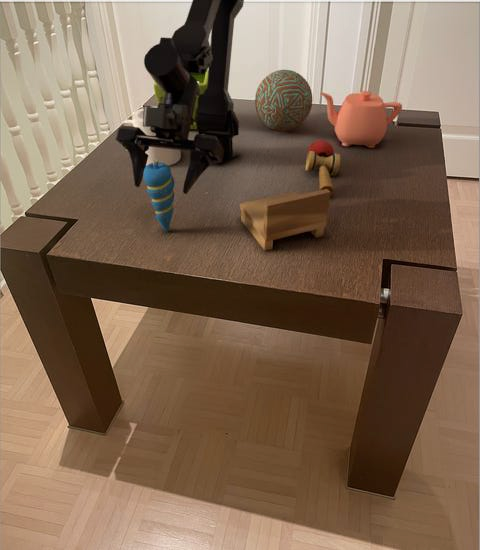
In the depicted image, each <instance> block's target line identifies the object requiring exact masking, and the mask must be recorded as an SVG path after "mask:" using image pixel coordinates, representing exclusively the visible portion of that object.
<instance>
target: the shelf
mask: <svg viewBox="0 0 480 550" xmlns="http://www.w3.org/2000/svg"><path fill="white" fill-rule="evenodd" d="M330 198H331V196H330V191H329V190H328V189H324V190H320V191H319V190H316V191H311V192H306V193H303V194H299V193H298V192H297V191H291V192H287V193H282V194H277V195H276V194H275V195H272V196H267V197H263V198H258V199H254V200H249V201H244V202H240V203H239V209H240V217H241V218H240V221H241V222H242V223H243V224H244V225H245V227H246V228H247V229H248V231H249V232H250V234H251V235H252V237H254V239H255V240H256V242H257V243H258V244H259V246H261V248H262V249H263V251H266V252H267V251H269V250H273V246H274V245H273V244H274V241H275V240H279V239H282V238H287V237H290V236H295V235H299V234H302V233H307V232H310V234H311V235H312V236H313V237H314V238H320V237H323V236H324V231H325V228H326V227H327V220H328V213H329V206H330Z"/></svg>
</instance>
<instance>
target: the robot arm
mask: <svg viewBox="0 0 480 550" xmlns="http://www.w3.org/2000/svg"><path fill="white" fill-rule="evenodd" d="M244 2H245V0H192V1H191V5H190V7H189V10H188V14H187V17H186V19H185V22H184V24H183V25H181V26H180V27H178V28H177V29H176V30H175V31H174V32H173V34H172V36H171V37H163V36H161V37H160V40H159V43H157V44H155V45H153V46H152V47H150V48H149V50H148V51H147V53H146V54H144V57H143V64H144V68H145V70H146V72H147V73H148V74H149V76H150V77H151V79H152V80H153V81H154V82H156V84H157V85H158V87H159V88H160V89H161V90H162V91H164V92H165V93H164V98H163V102H162V103H159V105H158V104H157V105H156V106H157V108H156V107H154V106H143V108H144V112H143V127H150V131H151V132H152V133H155V134H156V135H155V136H150V135H146V134H145V133H144V132H143V131H142V130H141V129H140V128H139V127H134V126H123V125H121V126H120V127H119V128H118V129H116V135H115V140H116V141H117V142H118V143H119V144H120V145H121V146H122V147H123V148H124V149H125V150H126V151H127V150H128V151H127V152H128V154H129V157H130V161H131V166H132V174H133V181H134V186H135V187H136V188H140V186H141V184H142V181H143V179H144V178H143V173H144V169H145V167H146V164H147V160H148V156H149V155H148V154H146V153H145V152H146V151H147V150H149V146H150V147H158V148H166V149H175V150H180V151H185V152H189V163H188V168H187V171H186V175H185V178H184V182H183V188H182V193H183V194H184V195H188V194H189V192H190V191H191V189H192V187H193V186H194V185H195V183H196V182H197V180H199V178H200V177H201V176H202V174H204V172H205V171H206V170H207V169H208V168H209V167H210V166H211V167H213V166H215V164H217V165H223V164H225V163H228V162H229V161H231V160H233V159H235V158H237V157H238V156H239V155H238V153H236V152H234V150H233V149H234V148H233V147H234V146H233V139H234V138H235V137H236V136H238V135H240V129H239V128H240V121H239V119H238V116H237V114H236V112H235V111H234V107H235V105H234V102H233V99H232V98H231V95H230V92H229V82H230V81H229V80H230V71H231V61H232V60H231V59H232V51H233V50H232V49H233V38H234V28H235V19H236V17H237V16H238V15H239V13H240V12H241V10H242V8H243V7H244ZM209 40H210V41H209ZM207 70H208V82H207V88H206V90H205V91H204V93H203V94H200V89H199V84H198V83H199V82H198V81H196V79H195V78H194V77H193V76H192V75H190V74H189V73H192V74H205V73H206V72H207ZM197 95H199V97H198V107H197V109H196V113H195V121H196V125H197V129H196V130H197V133H196V134H195V135H194V136H193V139H189V135H190V130H191V129H190V126H191V125H193V124H194V119H193V118H192V117H193V112H194V107H195V102H196V97H197ZM161 142H162V143H161Z"/></svg>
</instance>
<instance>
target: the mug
mask: <svg viewBox="0 0 480 550" xmlns="http://www.w3.org/2000/svg"><path fill="white" fill-rule="evenodd" d="M157 106H158V105H156V106H154V105H153V107H156V108H157ZM143 112H144V107H142V108H140V109H137V110H135V111H134V112H133V113H132V115H131V119H125V120H124V121H123V124H122V126H129V127H139V128H140V129H141V130H142V131H143V132H144V133H145V134H146V135H150V136H155V135H156V134H155V133H152V132H151V131H150V127H143ZM161 143H162V142H161ZM126 152H129V151H128V150H126ZM145 153H146V154H148V155H149V156H148V160H147V164H146V166H147V165H148V164H150V163H153V159H154V160H158V162H161V163H164V164H166V165H168V166H169V167H170V166H172V165H175V164H176V163H178V162H179V161H180V160H181V158H182V153H181V150H175V149H166V148H158V147H150V146H149V150H147V151H146V152H145ZM153 157H154V158H153Z"/></svg>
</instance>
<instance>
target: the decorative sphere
mask: <svg viewBox="0 0 480 550" xmlns="http://www.w3.org/2000/svg"><path fill="white" fill-rule="evenodd" d="M309 84H310V83H309V82H308V81H307V79H306V78H305V77H304V76H302V75H301V74H300V73H298V72H296V71H294V70H290V69H279V70H275V71H273V72H271V73H269V74H268V75H266V76H265V77H264V78H263V80H261V82H260V83H259V85H258V87H257V89H256V92H255V99H254V107H255V111H256V113H257V116H258V117H259V120H261V122H262V123H263V124H264V125H265V126H266V127H268V128H269V129H272V130H275V131H278V132H285V131H286V132H287V131H291V130H294V129H296V128H298V127H299V126H301V125H302V124H303V123H304V122H305V121H306V120H307V118H308V117H309V114H310V113H311V110H312V108H313V107H312V106H313V93H312V89H311V86H310V85H309Z"/></svg>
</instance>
